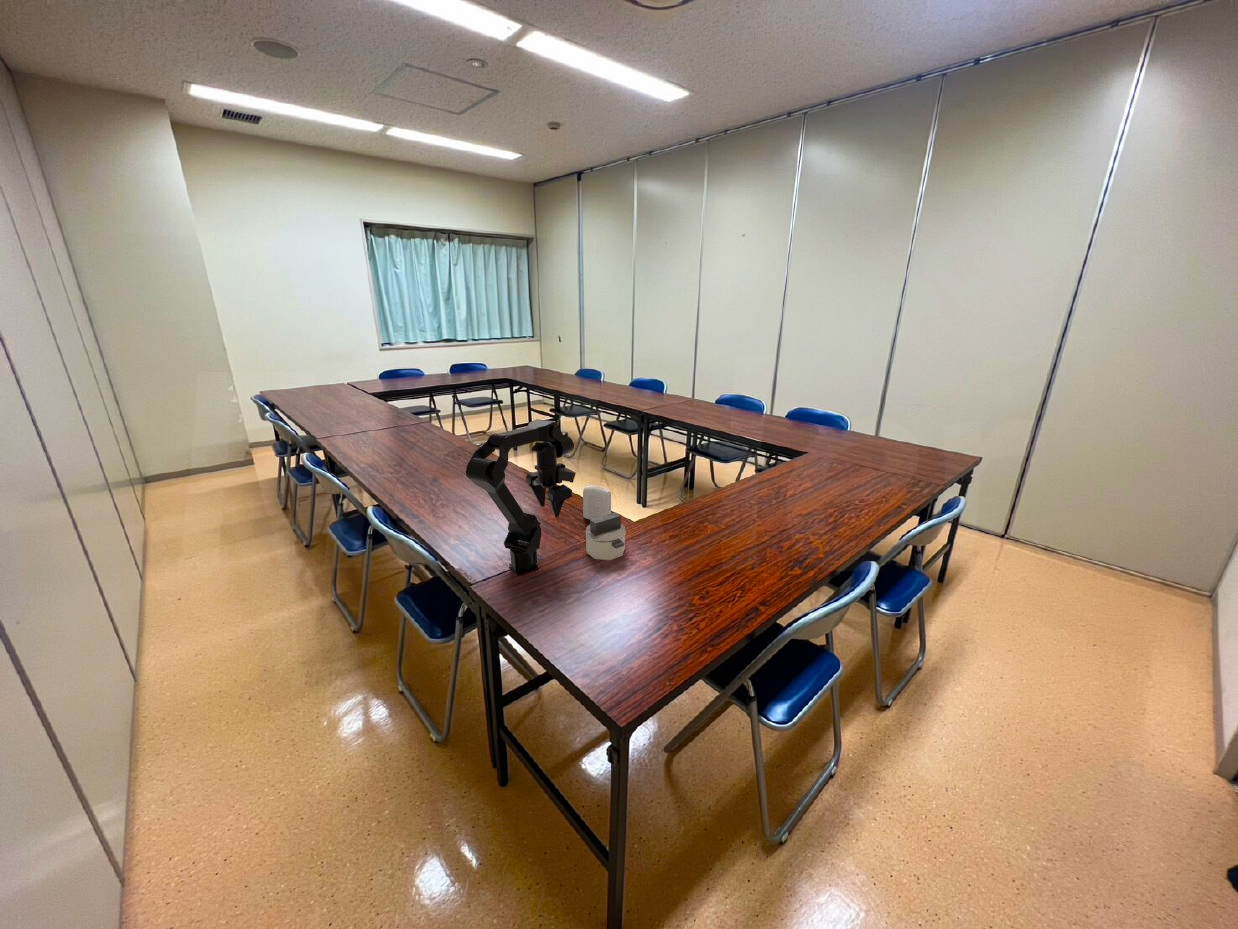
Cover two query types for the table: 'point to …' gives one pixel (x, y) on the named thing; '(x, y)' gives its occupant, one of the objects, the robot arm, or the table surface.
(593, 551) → the cooker pot
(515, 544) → the robot arm
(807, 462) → the table surface
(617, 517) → the cooker lid
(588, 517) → the photo printer
